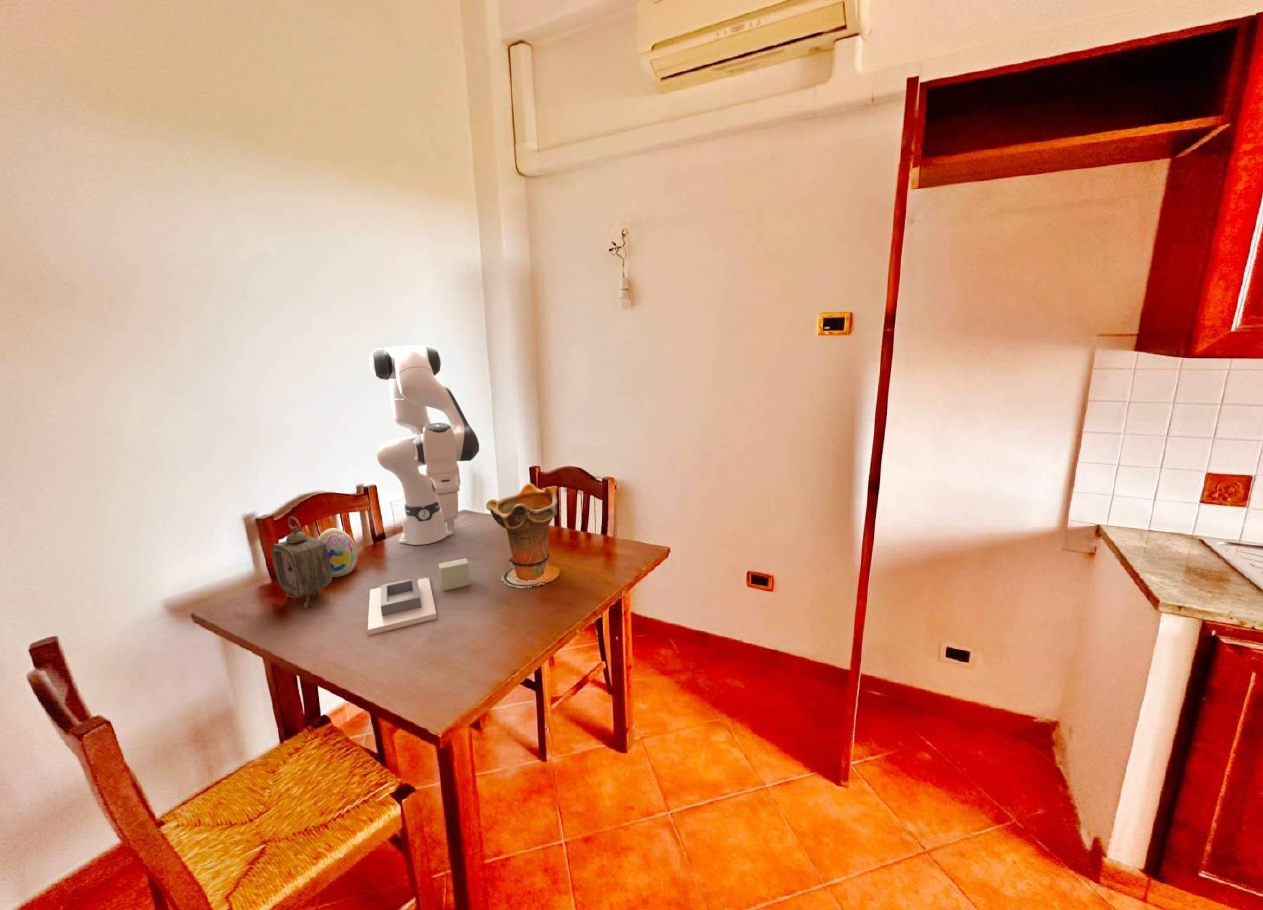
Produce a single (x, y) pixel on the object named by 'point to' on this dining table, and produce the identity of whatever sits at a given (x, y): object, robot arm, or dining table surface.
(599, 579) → the dining table surface
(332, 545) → the decorative egg
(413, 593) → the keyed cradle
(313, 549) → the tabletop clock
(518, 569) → the decorative vase
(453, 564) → the key block
